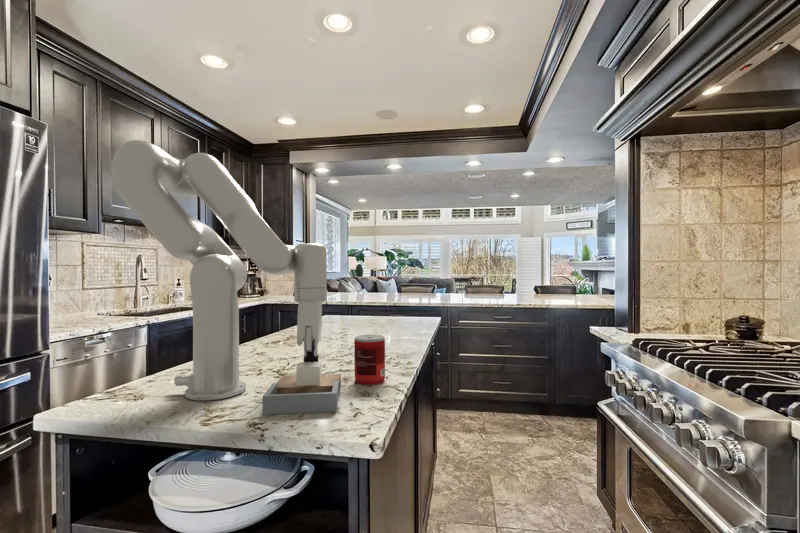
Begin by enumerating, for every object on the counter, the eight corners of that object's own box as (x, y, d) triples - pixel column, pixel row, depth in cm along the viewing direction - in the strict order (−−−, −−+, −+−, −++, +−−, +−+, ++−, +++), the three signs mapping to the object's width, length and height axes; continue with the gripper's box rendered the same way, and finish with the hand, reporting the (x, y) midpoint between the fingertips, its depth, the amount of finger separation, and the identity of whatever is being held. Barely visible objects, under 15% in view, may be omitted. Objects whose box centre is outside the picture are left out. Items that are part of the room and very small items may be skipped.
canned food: (379, 375, 103) (378, 333, 103) (389, 383, 95) (389, 338, 95) (351, 378, 100) (350, 335, 100) (359, 386, 92) (359, 340, 92)
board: (272, 399, 83) (272, 388, 83) (281, 386, 93) (281, 376, 93) (338, 397, 84) (338, 385, 85) (340, 384, 94) (340, 373, 94)
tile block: (296, 385, 84) (296, 367, 85) (299, 379, 89) (299, 362, 89) (319, 385, 85) (319, 366, 85) (321, 379, 90) (321, 361, 90)
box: (262, 414, 74) (262, 396, 74) (272, 399, 83) (272, 383, 83) (336, 411, 76) (336, 393, 76) (338, 397, 84) (338, 380, 85)
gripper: (298, 294, 99) (299, 366, 99) (289, 297, 84) (290, 382, 84) (328, 293, 100) (329, 365, 100) (324, 296, 85) (325, 380, 85)
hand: (311, 372), depth 92 cm, fingers closed
